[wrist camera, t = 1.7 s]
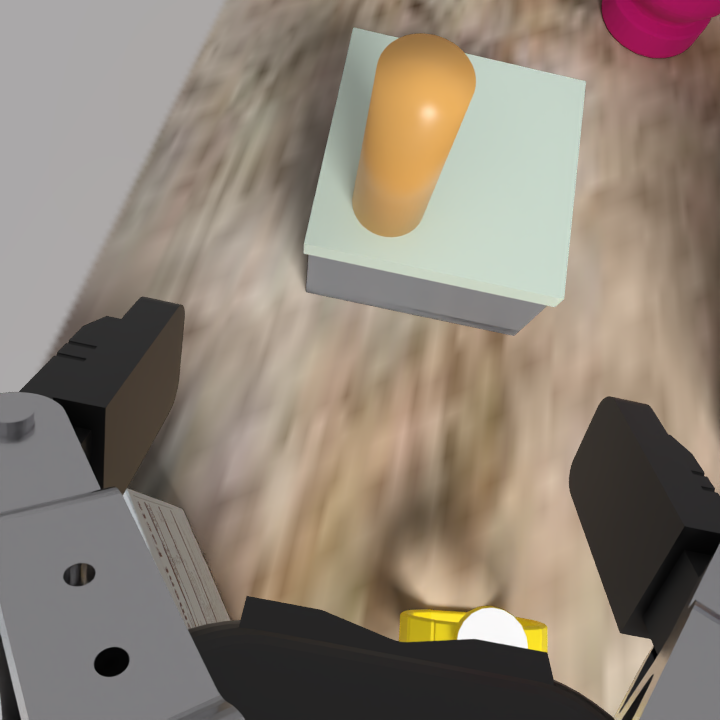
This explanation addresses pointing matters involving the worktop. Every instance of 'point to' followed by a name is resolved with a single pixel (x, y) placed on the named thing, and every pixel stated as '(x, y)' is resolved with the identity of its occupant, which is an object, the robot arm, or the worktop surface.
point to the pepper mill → (658, 24)
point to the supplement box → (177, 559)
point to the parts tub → (418, 296)
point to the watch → (473, 627)
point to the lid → (450, 168)
